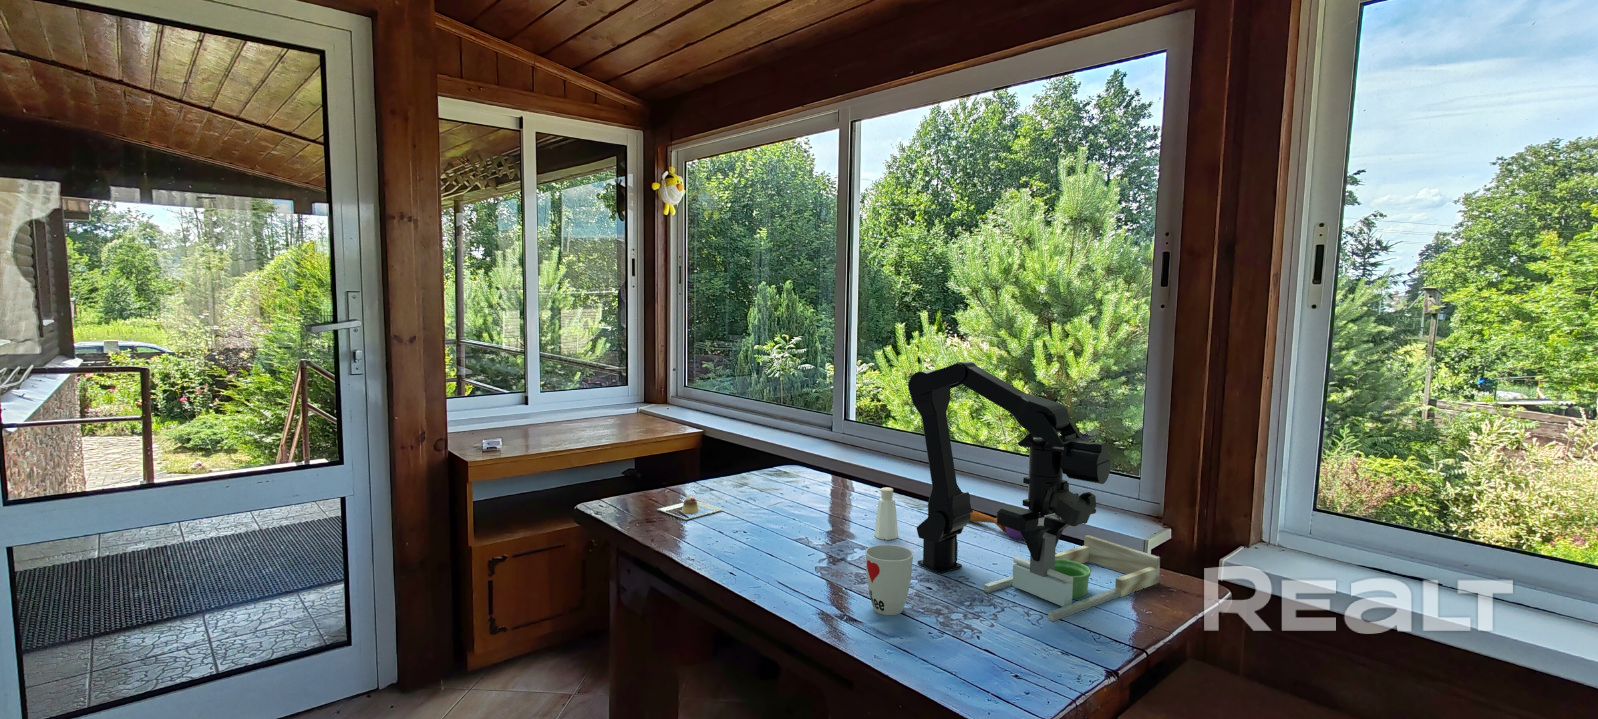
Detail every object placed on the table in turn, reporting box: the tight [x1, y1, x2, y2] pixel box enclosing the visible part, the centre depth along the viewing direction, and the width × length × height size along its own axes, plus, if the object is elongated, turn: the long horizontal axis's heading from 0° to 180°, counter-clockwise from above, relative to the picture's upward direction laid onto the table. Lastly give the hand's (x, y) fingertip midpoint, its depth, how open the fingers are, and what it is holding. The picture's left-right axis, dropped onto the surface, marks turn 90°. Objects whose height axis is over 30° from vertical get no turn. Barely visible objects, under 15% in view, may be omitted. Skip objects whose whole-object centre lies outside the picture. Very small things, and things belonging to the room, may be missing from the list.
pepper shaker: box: [874, 486, 899, 541], centre depth 161 cm, size 5×5×11 cm
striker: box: [1012, 532, 1073, 608], centre depth 128 cm, size 3×12×11 cm, turn 33°
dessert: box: [656, 494, 724, 521], centre depth 180 cm, size 12×12×5 cm
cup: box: [865, 544, 914, 616], centre depth 123 cm, size 8×8×10 cm
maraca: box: [969, 509, 1024, 541], centre depth 167 cm, size 6×6×20 cm
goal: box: [983, 534, 1161, 622], centre depth 133 cm, size 31×15×5 cm, turn 123°
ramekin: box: [1055, 559, 1092, 599], centre depth 132 cm, size 9×9×4 cm
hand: (1042, 559), depth 128 cm, fingers closed on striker, 3 cm apart
